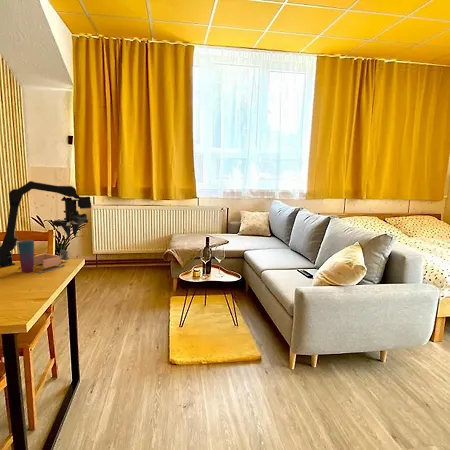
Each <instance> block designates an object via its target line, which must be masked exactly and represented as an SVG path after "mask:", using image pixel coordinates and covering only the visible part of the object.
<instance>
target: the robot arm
mask: <svg viewBox="0 0 450 450" xmlns="http://www.w3.org/2000/svg"><path fill="white" fill-rule="evenodd" d="M32 190H38V191H44V192H51V193H56V194H60V195H61V196H63V197H62V198H61V199H60V201H61V202H64V210H63V214H64V213H65V215H64V216H65V217H63V219H55V220H54V221H53V223H52V225H53V226H55V227H61V228H62V229H63V230H64V232H65V234H66V235H67V237H68V238H71V229H72V235H73V237H77V233H78V230H79V228H80V227H81V226H82V225H83V224H85V223H89V218H88V215H87V213H82V214H80V211H79V210H77V208H79V209H82V210H83V209H84V210H85V209H89V210H90V209H92V202H91V196H89V195H88V196H80V195H79V194H77V190H76V188H75V187H74V186H73V185H56V184H54V185H53V184H49V183H44V182H43V183H42V182H37V181H32V180H29V181H28V182H26V183H25V184H23V185H22V186H21V187H19V188H13V189H11V190H10V191H9V192H8V201H9V212H8V218H7V224H6V230H5V232H6V233H5V234H4V238H3V240H2V243H1V245H0V267H2V268H3V267H8V266H12V265H16V263H15V262H13V256H12V255H13V254H12V252H11V251H13V250H14V249H15V247H17V246H18V238H19V236H16V226H17V221H18V213H19V207H20V204H21V202H22V200H23V196H24V195H25V194H27V193H28V192H30V191H32Z"/></svg>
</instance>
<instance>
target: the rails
mask: <svg viewBox="0 0 450 450" xmlns="http://www.w3.org/2000/svg"><path fill="white" fill-rule="evenodd" d="M40 264H43V262H40V263H36V264H34V266H36V265H40ZM64 266H65V267H66V265H64V264H63V265H60V266H59V265H58V266H55V267H50V268H49V269H45V270H44V269H43V270H40V271H38V272H37V274H43V273H46V272H50V271H54V270H57V268H58V269H61V268H64ZM60 267H61V268H60ZM18 269H21V266H19V267H18Z"/></svg>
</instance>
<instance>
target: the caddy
mask: <svg viewBox="0 0 450 450" xmlns="http://www.w3.org/2000/svg"><path fill="white" fill-rule="evenodd" d="M63 260H64V261H68V260H69V254H68V250H65V249H64V250H63V249H60V250H59V255H55V254H50V253H46V252H45V253H41V254H36V255H34V264H36V263H40V262H43V263H42V269H43V271H44V270H47V268H52V267H54V266H55V267H56V266H58V267H59V266H62V265H61V264H62V261H63ZM40 264H41V263H40ZM36 265H37V264H36Z"/></svg>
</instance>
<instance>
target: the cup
mask: <svg viewBox="0 0 450 450" xmlns="http://www.w3.org/2000/svg"><path fill="white" fill-rule="evenodd" d="M17 248H18V254H19V263H20V267H21V268H20V269H21V272H22V273H23V274H24V273H32V272H34V266H35V265H34V256H35V249H34V248H35V241H34V240H33V239H24V240H22V239H21V240H17Z"/></svg>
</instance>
